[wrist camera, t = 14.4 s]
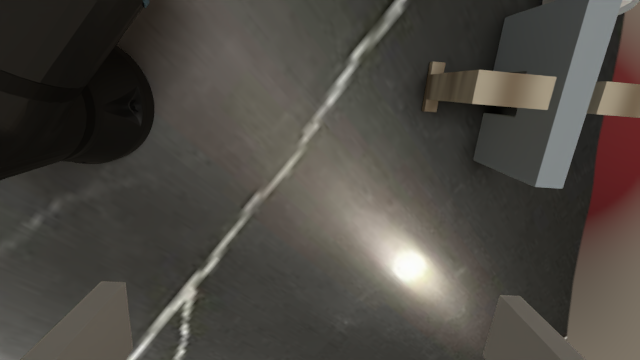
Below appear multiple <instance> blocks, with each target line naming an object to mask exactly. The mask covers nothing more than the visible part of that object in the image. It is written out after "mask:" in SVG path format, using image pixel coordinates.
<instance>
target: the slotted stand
mask: <svg viewBox="0 0 640 360" xmlns="http://www.w3.org/2000/svg"><path fill="white" fill-rule="evenodd" d="M444 68H445V63H442V62H430V64H429V70H428V76H427V82H426V87H425V93H424V99H423V105H422V111H427V112H437V106H438V101H449V102H459V103H469V104H481V105H493V106H505V107H517V108H529V109H541V110H548V107H549V103H550V100H551V96H552V92H553V89H554V85H555V82H556V78H557V77H553V76H542V75H531V74H520V73H509V72H499V71H488V70H471V71H461V72H451V73H444ZM587 113H589V114H601V115H613V116H625V117H637V118H640V85H639V84H628V83H618V82H596V85H595V88H594V91H593V94H592V97H591V100H590V103H589V107H588V110H587Z"/></svg>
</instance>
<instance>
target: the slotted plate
mask: <svg viewBox="0 0 640 360" xmlns="http://www.w3.org/2000/svg"><path fill="white" fill-rule="evenodd" d="M621 3H622V0H555V1H552V2H549V3H546V4H544V5H541V6H538V7H535V8H532V9H529V10H526V11H523V12H520V13H517V14H514V15H511V16H508V17H506V18H505V20H504V25H503V29H502V34H501V38H500V42H499V47H498V51H497V56H496V60H495V65H494V69H493V71H499V72H509V73H520V74H531V75H542V76H553V77H557V78H556V82H555V85H554V89H553V92H552V96H551V100H550V103H549V107H548V110H541V109H529V108H518V109H517V113H516V116H512V115H504V114H492V113H484V114H483V118H482V122H481V127H480V131H479V136H478V140H477V145H476V149H475V154H474V158H473V161H476V162H478V163H480V164H483V165H485V166H487V167H490V168H492V169H494V170H497V171H499V172H501V173H504V174H506V175H508V176H511V177H513V178H515V179H518V180H520V181H522V182H525V183H527V184H529V185H532V186H534V187H545V188H561V189H562V188H563V185H564V182H565V179H566V176H567V173H568V170H569V166H570V163H571V160H572V157H573V154H574V151H575V147H576V144H577V141H578V138H579V135H580V132H581V129H582V125H583V122H584V119H585V116H586V113H587V110H588V107H589V103H590V100H591V97H592V94H593V91H594V88H595V85H596V81H597V78H598V75H599V72H600V69H601V66H602V62H603V59H604V56H605V53H606V50H607V47H608V44H609V40H610V37H611V34H612V31H613V28H614V25H615V22H616V18H617V15H618V12H619V9H620V6H621Z"/></svg>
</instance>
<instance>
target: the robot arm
mask: <svg viewBox="0 0 640 360" xmlns="http://www.w3.org/2000/svg"><path fill="white" fill-rule="evenodd" d="M148 5H149V0H0V180H2V179H5V178H8V177H11V176H15V175H18V174H21V173H24V172H27V171H31V170H34V169H37V168H40V167H43V166H47V165H50V164H53V163H56V162H59V161H69V162H75V163H82V164H99V163H106V162H110V161H113V160H116V159H118V158H121V157H123V156H126V155H128V154H130V153H131V152H133V151H134V150H136V149H137V148H138V147H139V146H140V145H141V144H142V143H143V141H144V140H145V139H146V137H147V135H148V134H149V131H150V129H151V126H152V123H153V117H154V102H153V96H152V92H151V89H150V86H149V83H148V81H147V79H146V77H145V75H144V74H143V72H142V70H141V69H140V68H139V66H138V65H137V64H136V62H135V61H134V60H133V59H132V58H131V57H130V56H129V55H128V54H127V53H125V52H124V51H123V50H122V49H120V48H119V47H118V46H116V44H117V43H118V41H119V40H120V38H121V37H122V36H123V34H124V33H125V31H126V30H127V29H128V27H129V26H130V24H131V23H132V22H133V20H134V19H135V17H136V16H137V15H138V13H139V12H140V10H141V9H142V8H143V7H144V8H146V7H147V6H148ZM132 349H133V345H132V336H131V327H130V318H129V309H128V301H127V292H126V283H125V282H108V281H101V282H100V283H99V284H98V285H97V286H96V287H95V288H94V289H93V290H92V291H91V292H90V293H89V294H88V295H87V296H86V297H85V298H83V299H82V300H81V301H80V302H79V303H78V304H77V305H76V306H75V307H74V308H73V309H72V310H71V311H70V312H69V313H68V314H67V315H66V316H65V317H64V318H63V319H62V320H61V321H60V322H59V323H58V324H57V325H56V326H55V327H53V328H52V329H51V330H50V331H49V332H48V333H47V334H46V335H45V336H44V337H43V338H42V339H41V340H40V341H39V342H38V343H37V344H36V345H35V346H34V347H33V348H32V349H31V350H30V351H29V352H28V353H27V354H26V355H24V356H23V357H22V358H21V359H20V360H126V358H127V357H128V355H129V354H130V352H131V351H132ZM483 357H484V358H485V360H586V359H585V358H584V357H583V356H582V355H581V354H580V353H578V351H577V350H576V349H574V348H573V347H572V346H571V345H570V344H569V343H568V342H567V341H566V340H565V339H564V338H563V337H562V336H561V335H560V334H559V333H558V332H557V331H556V330H555V329H554V328H553V327H552V326H551V325H550V324H548V323H547V322H546V321H545V320H544V319H543V318H542V317H541V316H540V315H539V314H538V313H537V312H536V311H535V310H534V309H533V308H532V307H531V306H530V305H529V304H528V303H527V302H526V301H525V300H523V299H522V298H521V297H520V296H508V295H500V297H499V300H498V304H497V307H496V310H495V314H494V317H493V321H492V324H491V328H490V331H489V335H488V338H487V342H486V345H485V349H484V352H483Z"/></svg>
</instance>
